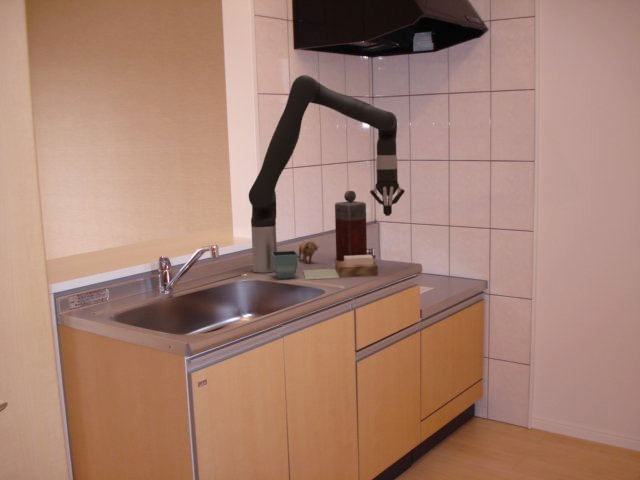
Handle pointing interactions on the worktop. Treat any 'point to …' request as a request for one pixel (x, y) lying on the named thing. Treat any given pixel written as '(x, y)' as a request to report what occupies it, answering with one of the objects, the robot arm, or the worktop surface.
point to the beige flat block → (358, 260)
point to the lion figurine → (307, 251)
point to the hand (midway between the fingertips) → (387, 215)
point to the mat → (320, 274)
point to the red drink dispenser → (350, 227)
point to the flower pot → (285, 263)
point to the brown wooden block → (355, 269)
